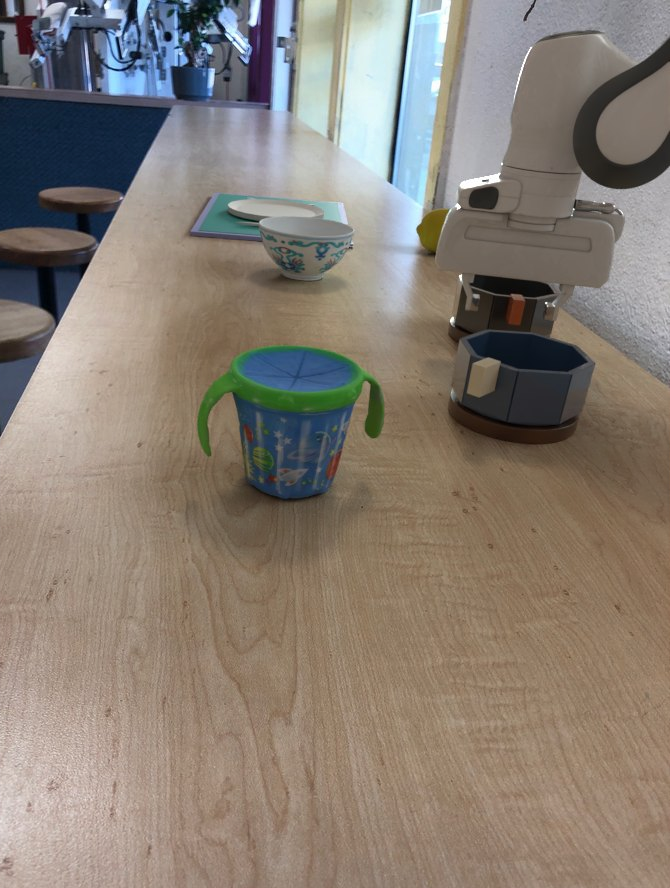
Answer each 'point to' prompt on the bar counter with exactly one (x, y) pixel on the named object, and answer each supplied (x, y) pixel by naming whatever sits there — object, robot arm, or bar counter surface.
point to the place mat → (257, 214)
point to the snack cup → (293, 415)
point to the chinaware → (305, 244)
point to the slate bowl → (521, 377)
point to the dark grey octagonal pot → (505, 305)
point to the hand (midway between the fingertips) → (509, 314)
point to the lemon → (431, 228)
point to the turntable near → (510, 426)
